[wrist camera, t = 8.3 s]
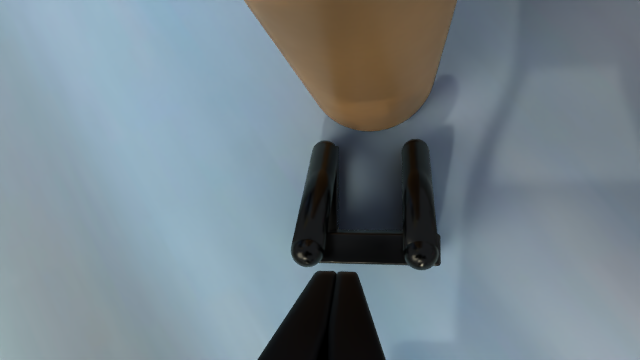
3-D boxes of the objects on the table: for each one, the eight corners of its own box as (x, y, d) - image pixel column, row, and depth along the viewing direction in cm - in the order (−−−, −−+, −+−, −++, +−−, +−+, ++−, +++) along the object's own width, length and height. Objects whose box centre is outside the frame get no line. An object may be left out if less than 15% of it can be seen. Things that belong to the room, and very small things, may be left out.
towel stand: (433, 257, 21) (446, 273, 15) (311, 254, 22) (281, 268, 16) (432, 142, 21) (444, 116, 16) (312, 144, 22) (284, 120, 17)
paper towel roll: (458, 318, 14) (576, -459, 5) (263, 309, 15) (51, -348, 6) (431, 84, 24) (451, -296, 15) (318, 87, 25) (274, -268, 16)
